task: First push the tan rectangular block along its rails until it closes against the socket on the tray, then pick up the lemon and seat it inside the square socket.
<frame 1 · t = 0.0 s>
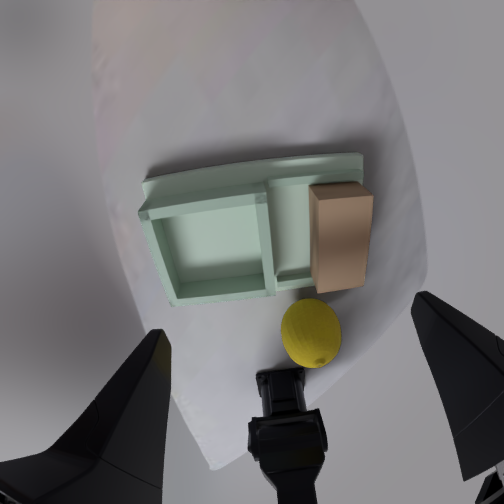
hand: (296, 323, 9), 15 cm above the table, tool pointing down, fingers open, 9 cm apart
tray: (260, 230, 24), on the table
lemon: (302, 301, 29), on the table
tan rectangular block: (338, 238, 21), point 3 cm above the table, slide at 0.0 cm
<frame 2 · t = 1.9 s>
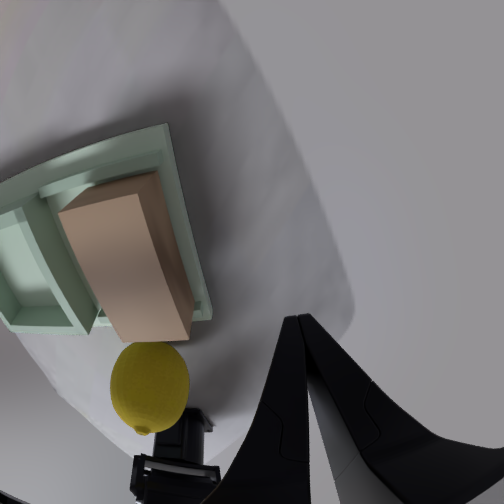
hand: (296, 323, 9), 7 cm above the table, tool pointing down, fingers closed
tray: (70, 250, 16), on the table
lemon: (159, 339, 21), on the table
tan rectangular block: (134, 265, 13), point 3 cm above the table, slide at 0.0 cm
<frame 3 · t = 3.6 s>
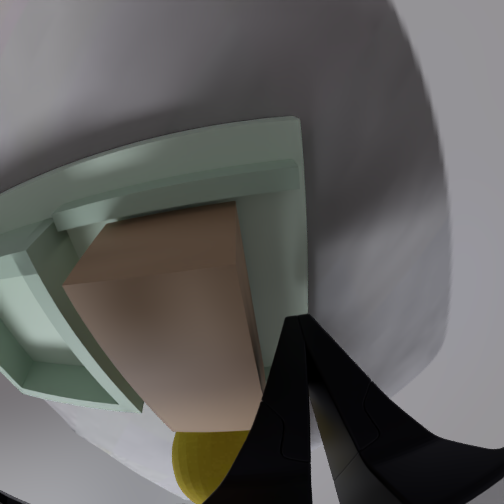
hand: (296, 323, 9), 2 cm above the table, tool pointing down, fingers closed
tray: (104, 299, 11), on the table
lemon: (221, 395, 16), on the table
tan rectangular block: (194, 345, 9), point 3 cm above the table, slide at 1.4 cm, touching gripper
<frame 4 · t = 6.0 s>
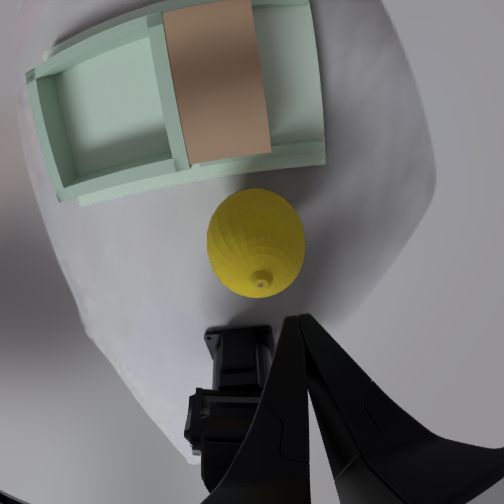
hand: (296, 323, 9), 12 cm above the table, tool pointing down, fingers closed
tray: (175, 89, 15), on the table
lemon: (252, 208, 20), on the table
tan rectangular block: (219, 78, 12), point 3 cm above the table, slide at 3.0 cm
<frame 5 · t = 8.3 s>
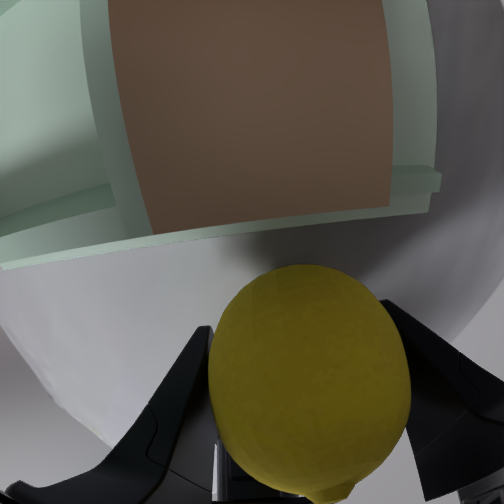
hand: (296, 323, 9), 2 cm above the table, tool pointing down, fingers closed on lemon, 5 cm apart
tray: (140, 48, 6), on the table
lemon: (286, 281, 11), on the table, touching gripper
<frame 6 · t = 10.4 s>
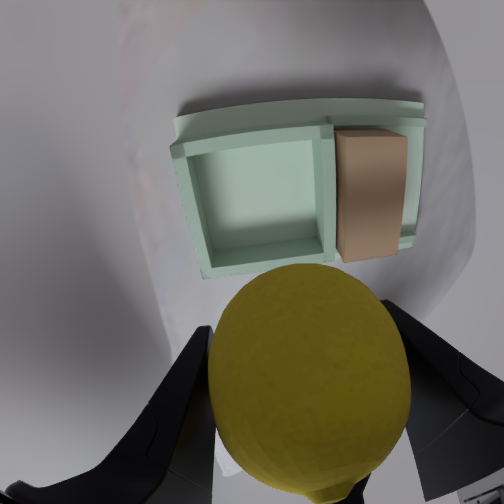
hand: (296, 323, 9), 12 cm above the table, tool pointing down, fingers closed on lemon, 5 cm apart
tray: (313, 183, 19), on the table
lemon: (287, 280, 11), point 10 cm above the table, touching gripper
tan rectangular block: (367, 193, 17), point 3 cm above the table, slide at 3.0 cm
when the fingers open (4 cm above the table, at t = 12.3 s): lemon drops 1 cm, resting on tray.
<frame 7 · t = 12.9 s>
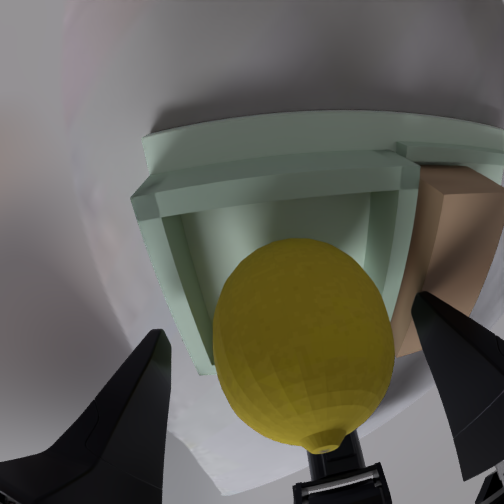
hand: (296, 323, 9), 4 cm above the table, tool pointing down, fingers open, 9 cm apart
tray: (361, 239, 13), on the table
lemon: (283, 259, 12), point 1 cm above the table, touching tray
tan rectangular block: (439, 264, 10), point 3 cm above the table, slide at 3.0 cm
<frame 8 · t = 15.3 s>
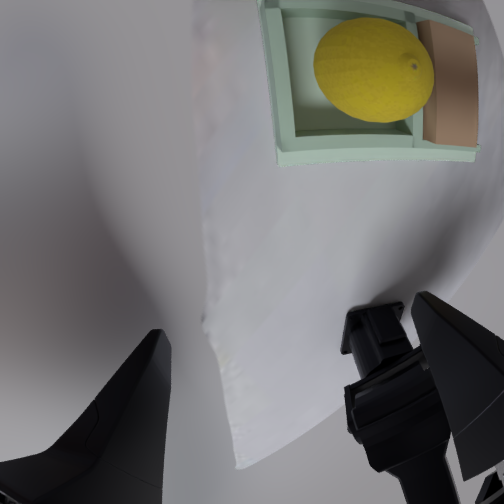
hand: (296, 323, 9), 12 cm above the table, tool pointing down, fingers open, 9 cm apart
tray: (389, 76, 15), on the table
lemon: (341, 72, 14), point 1 cm above the table, touching tray
tan rectangular block: (444, 83, 12), point 3 cm above the table, slide at 3.0 cm
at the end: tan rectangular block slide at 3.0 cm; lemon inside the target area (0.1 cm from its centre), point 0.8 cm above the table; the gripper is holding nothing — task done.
